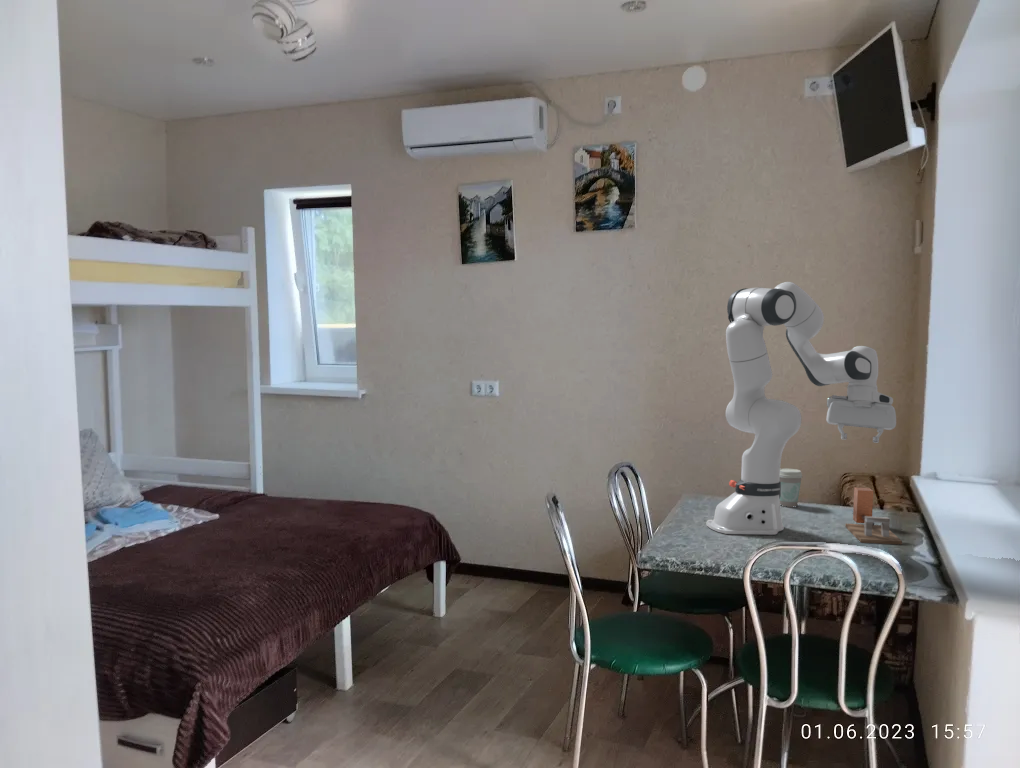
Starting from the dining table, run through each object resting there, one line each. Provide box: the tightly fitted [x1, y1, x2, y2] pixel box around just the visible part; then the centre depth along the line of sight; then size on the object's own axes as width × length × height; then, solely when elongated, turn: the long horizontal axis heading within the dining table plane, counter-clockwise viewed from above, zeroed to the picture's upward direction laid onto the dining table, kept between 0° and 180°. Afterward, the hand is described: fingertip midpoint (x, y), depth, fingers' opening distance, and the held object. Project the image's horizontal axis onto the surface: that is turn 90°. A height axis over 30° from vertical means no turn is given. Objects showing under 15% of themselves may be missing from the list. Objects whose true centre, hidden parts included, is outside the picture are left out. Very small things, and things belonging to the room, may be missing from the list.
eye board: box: [844, 516, 903, 545], centre depth 238 cm, size 18×11×6 cm, turn 170°
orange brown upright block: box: [852, 486, 875, 526], centre depth 246 cm, size 12×4×10 cm, turn 170°
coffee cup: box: [779, 467, 803, 508], centre depth 276 cm, size 8×9×12 cm
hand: (859, 440), depth 256 cm, fingers open, 8 cm apart
